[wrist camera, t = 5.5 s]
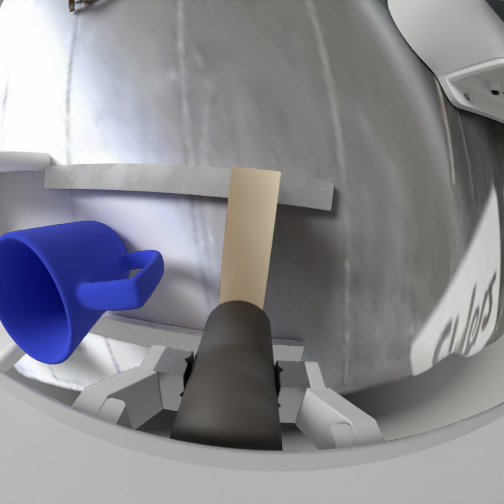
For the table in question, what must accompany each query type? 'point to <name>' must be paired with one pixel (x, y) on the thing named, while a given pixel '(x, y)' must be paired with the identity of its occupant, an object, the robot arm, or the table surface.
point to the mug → (68, 284)
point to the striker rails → (181, 182)
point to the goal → (3, 347)
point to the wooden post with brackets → (72, 3)
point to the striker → (238, 332)
